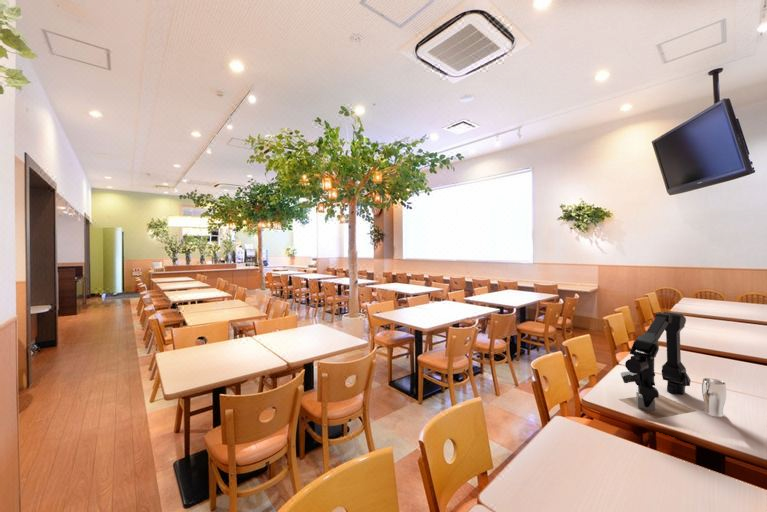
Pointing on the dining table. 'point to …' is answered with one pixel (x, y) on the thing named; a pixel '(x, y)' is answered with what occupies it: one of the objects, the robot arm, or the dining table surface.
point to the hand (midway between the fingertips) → (645, 403)
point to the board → (661, 407)
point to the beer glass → (714, 396)
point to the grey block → (641, 403)
